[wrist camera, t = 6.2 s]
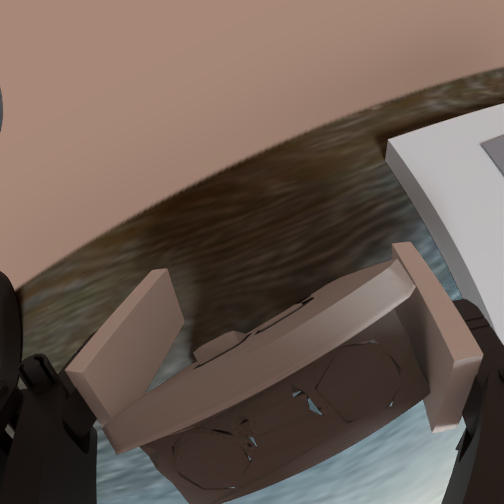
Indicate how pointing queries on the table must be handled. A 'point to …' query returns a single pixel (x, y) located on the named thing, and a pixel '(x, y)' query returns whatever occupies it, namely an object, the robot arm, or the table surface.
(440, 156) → the mounting board
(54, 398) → the robot arm
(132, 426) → the electrical switch
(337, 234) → the table surface
